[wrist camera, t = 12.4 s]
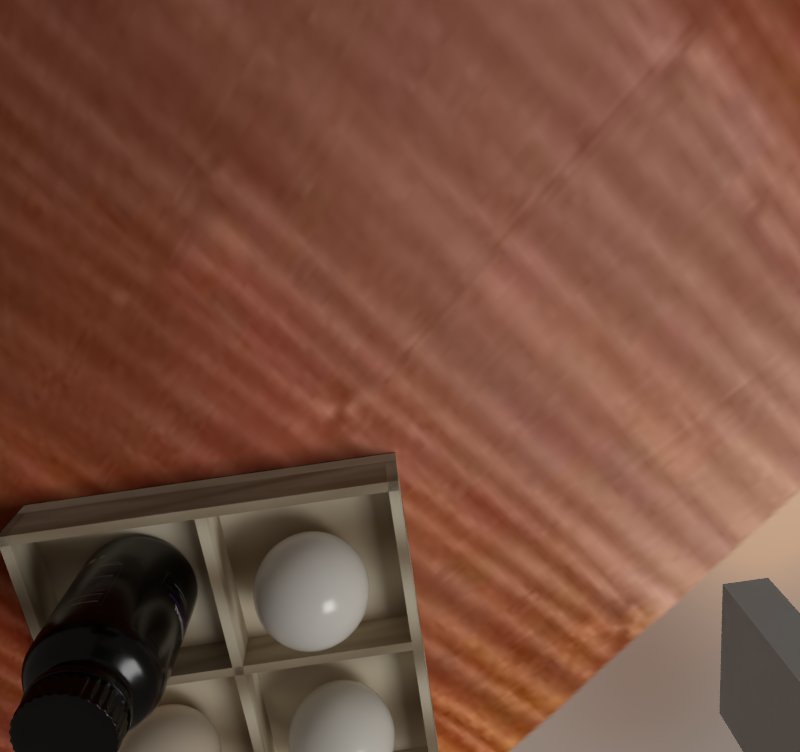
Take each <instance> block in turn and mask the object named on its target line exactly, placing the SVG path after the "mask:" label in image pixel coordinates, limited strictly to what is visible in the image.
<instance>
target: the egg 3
mask: <svg viewBox="0 0 800 752" xmlns="http://www.w3.org/2000/svg"><path fill="white" fill-rule="evenodd" d="M394 744H395V730H394V724H393V720H392V716H391V714H390V711H389V709H388V707H387V705H386V704H385V702H384V701H383V700H382V698H381V697H380V696H379V695H378V694H377V693H376V692H375V691H374V690H372V689H371V688H369V687H368V686H366V685H364V684H362V683H359V682H356V681H352V680H335V681H331V682H327V683H325V684H322V685H320V686H319V687H317V688H315V689H314V690H313V691H311V692H310V693H309V694H308V695H307V696H306V697H305V698H304V699H303V700H302V702H301V703H300V704H299V706H298V708H297V709H296V711H295V713H294V716H293V718H292V721H291V724H290V729H289V736H288V747H289V752H393V750H394Z"/></svg>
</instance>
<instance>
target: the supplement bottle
mask: <svg viewBox="0 0 800 752" xmlns="http://www.w3.org/2000/svg"><path fill="white" fill-rule="evenodd" d="M197 595H198V584H197V579H196V575H195V572H194V570H193V568H192V566H191V564H190V563H189V562H188V560H187V559H186V558H185V557H184V555H183V554H182V553H181V552H179V551H178V550H177V549H176V548H174V547H173V546H171V545H169V544H167V543H165V542H163V541H161V540H158V539H155V538H151V537H145V536H129V537H123V538H119V539H115V540H113V541H110V542H108V543H106V544H105V545H103V546H101V547H100V548H99V549H97V550H96V551H95V552H94V553H93V554H92V555H91V556H90V558H89V559H88V560H87V561H86V563H85V564H84V566H83V567H82V569H81V570H80V572H79V573H78V575H77V576H76V578H75V579H74V581H73V582H72V584H71V585H70V587H69V588H68V590H67V591H66V593H65V594H64V596H63V597H62V599H61V600H60V602H59V603H58V605H57V606H56V608H55V609H54V611H53V612H52V614H51V615H50V617H49V618H48V620H47V621H46V623H45V624H44V626H43V627H42V629H41V631H40V632H39V634H38V635H37V637H36V638H35V640H34V641H33V643H32V644H31V646H30V648H29V650H28V652H27V654H26V656H25V659H24V662H23V666H22V675H21V678H22V688H23V692H24V695H23V697H22V700H21V703H20V705H19V706H18V708H17V710H16V711H15V713H14V716H13V719H12V721H11V723H10V727H11V729H10V731H9V734H10V736H11V739H10V742H11V743H12V745H13V750H14V751H15V752H118V750H119V748H120V746H121V744H122V742H123V739H124V738H125V736H126V734H127V733H128V732H130V731H131V730H133V729H135V728H137V727H138V726H139V725H141V724H142V723H143V722H144V721H146V720H147V719H148V718H149V717H150V716H151V715H152V713H153V712H154V711H155V709H156V708H157V706H158V705H159V703H160V701H161V698H162V696H163V694H164V691H165V689H166V686H167V683H168V681H169V678H170V675H171V672H172V669H173V667H174V664H175V661H176V658H177V656H178V653H179V650H180V647H181V644H182V642H183V639H184V636H185V633H186V630H187V628H188V625H189V622H190V619H191V617H192V614H193V611H194V608H195V604H196V601H197Z"/></svg>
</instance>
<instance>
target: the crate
mask: <svg viewBox="0 0 800 752" xmlns="http://www.w3.org/2000/svg"><path fill="white" fill-rule="evenodd" d="M307 531H320V532H326V533H329V534H332V535H335V536H337V537H339V538H341V539H343V540H344V541H345V542H347V543H348V544H350V545H351V546H352V547H353V548H354V549H355V551H356V552H357V553H358V554H359V556H360V557H361V559H362V561H363V563H364V565H365V567H366V570H367V573H368V577H369V586H370V592H369V601H368V606H367V609H366V612H365V614H364V617H363V618H362V620H361V622H360V624H359V625H358V627H357V628H356V629H355V630H354V632H353V633H352V634H351V635H350V636H349V637H348V638H346V639H345V640H344V641H342V642H341V643H339V644H337V645H335V646H333V647H331V648H328V649H325V650H321V651H314V652H304V651H298V650H294V649H291V648H288V647H286V646H284V645H282V644H280V643H279V642H277V641H276V640H275V639H274V638H272V637H271V636H270V635H269V634H268V633H267V631H266V630H265V629H264V627H263V626H262V624H261V623H260V621H259V618H258V616H257V613H256V610H255V606H254V599H253V588H254V581H255V577H256V574H257V571H258V568H259V566H260V564H261V562H262V561H263V559H264V558H265V556H266V555H267V553H268V552H269V551H270V550H271V549H272V548H273V547H274V546H275V545H277V544H278V543H279V542H280V541H282V540H284V539H285V538H287V537H290V536H292V535H294V534H297V533H301V532H307ZM129 536H145V537H151V538H155V539H158V540H161V541H163V542H165V543H167V544H169V545H171V546H173V547H174V548H176V549H177V550H178V551H179V552H181V553H182V554H183V555H184V557H185V558H186V559H187V560H188V562H189V563H190V564H191V566H192V568H193V570H194V572H195V575H196V579H197V584H198V595H197V601H196V604H195V608H194V611H193V614H192V617H191V619H190V622H189V625H188V628H187V630H186V633H185V636H184V639H183V642H182V644H181V647H180V650H179V653H178V656H177V658H176V661H175V664H174V667H173V669H172V672H171V675H170V678H169V681H168V683H167V686H166V689H165V691H164V694H163V696H162V698H161V701H160V703H159V705H158V706H157V707H159V706H163V705H169V704H180V705H186V706H189V707H192V708H194V709H196V710H198V711H200V712H201V713H202V714H204V715H205V716H206V717H207V718H208V719H209V720H210V721H211V723H212V724H213V725H214V727H215V729H216V731H217V733H218V736H219V738H220V742H221V748H222V752H289V747H288V736H289V729H290V724H291V721H292V718H293V716H294V713H295V711H296V709H297V708H298V706H299V704H300V703H301V702H302V700H303V699H304V698H305V697H306V696H307V695H308V694H309V693H310V692H311V691H313V690H314V689H315V688H317V687H319V686H320V685H322V684H325V683H327V682H331V681H335V680H352V681H356V682H359V683H362V684H364V685H366V686H368V687H369V688H371V689H372V690H374V691H375V692H376V693H377V694H378V695H379V696H380V697H381V698H382V700H383V701H384V702H385V704H386V705H387V707H388V709H389V711H390V714H391V716H392V720H393V724H394V730H395V744H394V750H393V752H439V749H438V742H437V734H436V728H435V721H434V714H433V707H432V700H431V694H430V687H429V680H428V673H427V666H426V659H425V653H424V646H423V639H422V632H421V625H420V619H419V612H418V605H417V598H416V591H415V585H414V578H413V571H412V564H411V557H410V550H409V544H408V537H407V530H406V523H405V516H404V510H403V503H402V496H401V489H400V482H399V476H398V469H397V462H396V455H395V453H390V454H383V455H375V456H368V457H361V458H354V459H347V460H340V461H333V462H326V463H319V464H312V465H305V466H298V467H291V468H284V469H277V470H270V471H263V472H256V473H249V474H242V475H235V476H228V477H221V478H213V479H206V480H199V481H192V482H185V483H178V484H171V485H164V486H157V487H150V488H143V489H136V490H129V491H122V492H115V493H108V494H101V495H94V496H87V497H80V498H73V499H66V500H59V501H51V502H44V503H37V504H30V505H24V506H23V507H22V508H21V510H20V511H19V512H18V513H17V514H16V515H15V516H14V518H13V519H12V520H11V521H10V522H9V523H8V524H7V526H6V527H5V528H4V529H3V530H2V531H1V532H0V551H1V553H2V556H3V559H4V561H5V564H6V567H7V570H8V572H9V575H10V578H11V581H12V583H13V586H14V589H15V592H16V594H17V597H18V600H19V603H20V605H21V608H22V611H23V613H24V616H25V619H26V622H27V624H28V627H29V630H30V633H31V635H32V638H33V641H34V640H35V638H36V637H37V635H38V634H39V632H40V631H41V629H42V627H43V626H44V624H45V623H46V621H47V620H48V618H49V617H50V615H51V614H52V612H53V611H54V609H55V608H56V606H57V605H58V603H59V602H60V600H61V599H62V597H63V596H64V594H65V593H66V591H67V590H68V588H69V587H70V585H71V584H72V582H73V581H74V579H75V578H76V576H77V575H78V573H79V572H80V570H81V569H82V567H83V566H84V564H85V563H86V561H87V560H88V559H89V558H90V556H91V555H92V554H93V553H94V552H95V551H96V550H97V549H99V548H100V547H101V546H103V545H105V544H106V543H108V542H110V541H113V540H115V539H119V538H123V537H129Z"/></svg>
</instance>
